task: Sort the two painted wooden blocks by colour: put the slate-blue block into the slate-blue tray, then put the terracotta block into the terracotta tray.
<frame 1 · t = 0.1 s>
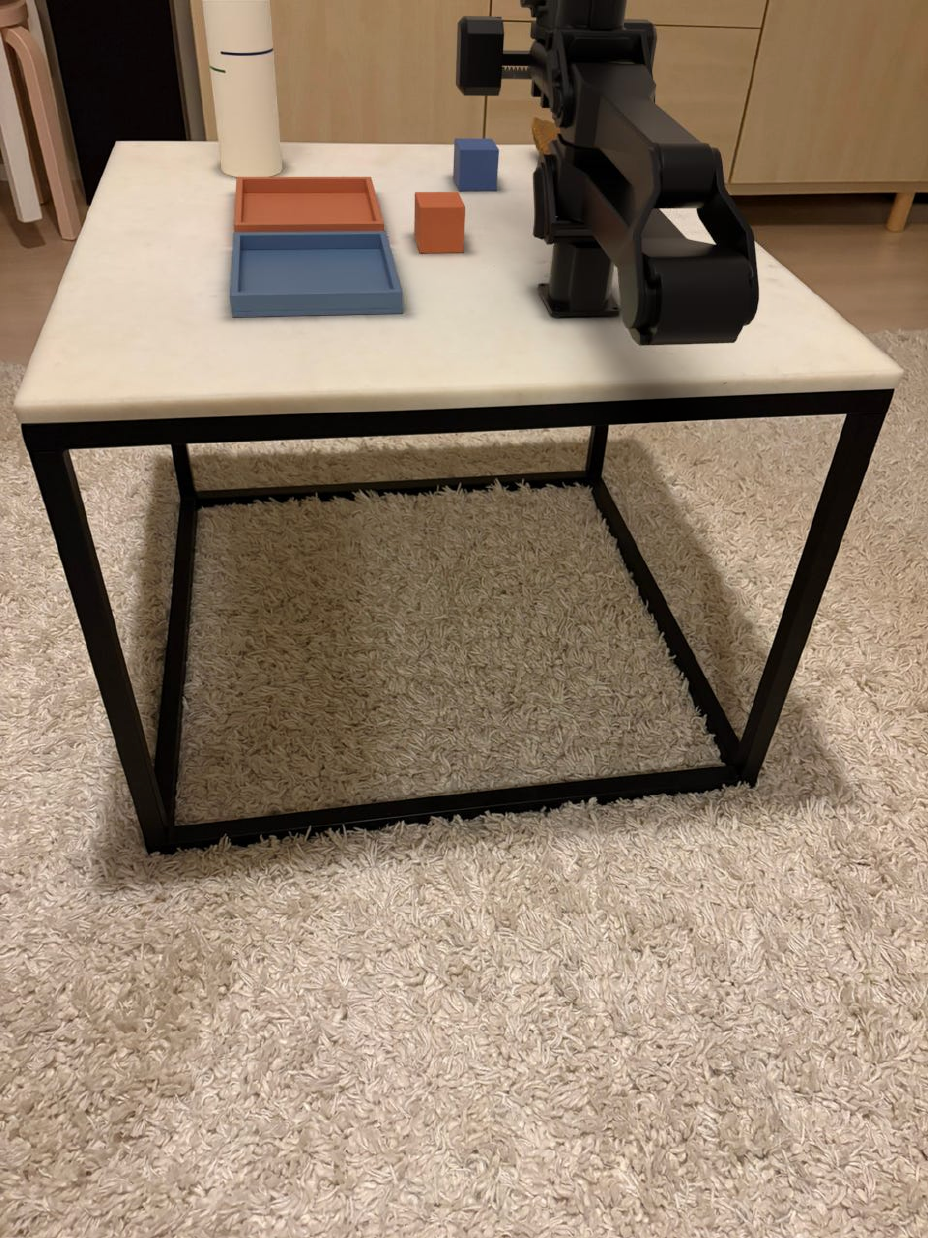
hand: (536, 39, 95), 17 cm above the table, tool horizontal, fingers open, 9 cm apart
blue block: (474, 184, 112), on the table
blue tray: (314, 281, 88), on the table
clay tray: (308, 218, 101), on the table
artifact: (575, 170, 118), on the table
cylindrical container: (252, 170, 112), on the table
clay block: (438, 244, 97), on the table
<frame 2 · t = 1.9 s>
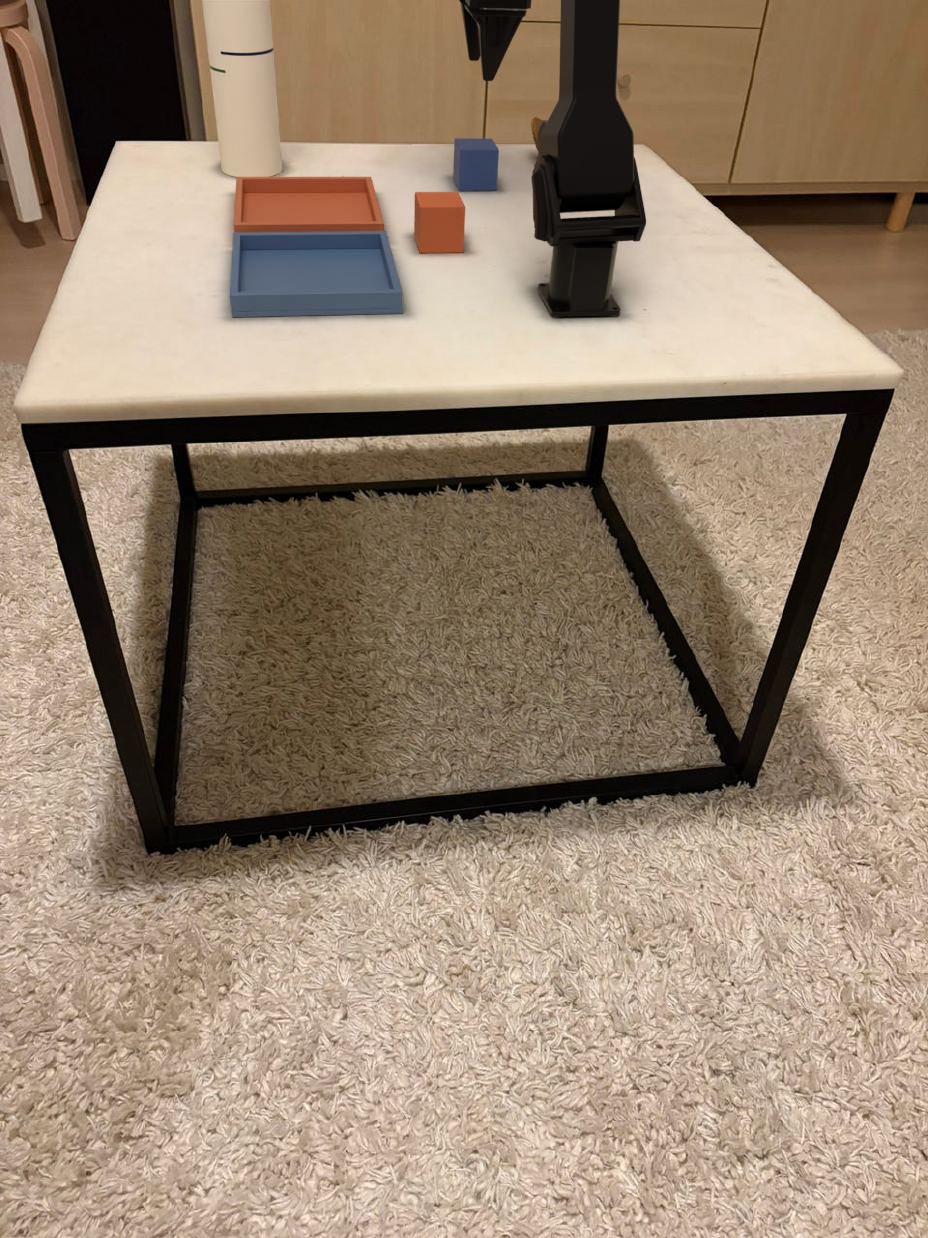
hand: (480, 70, 104), 12 cm above the table, tool pointing down, fingers open, 9 cm apart
nothing on the table moved.
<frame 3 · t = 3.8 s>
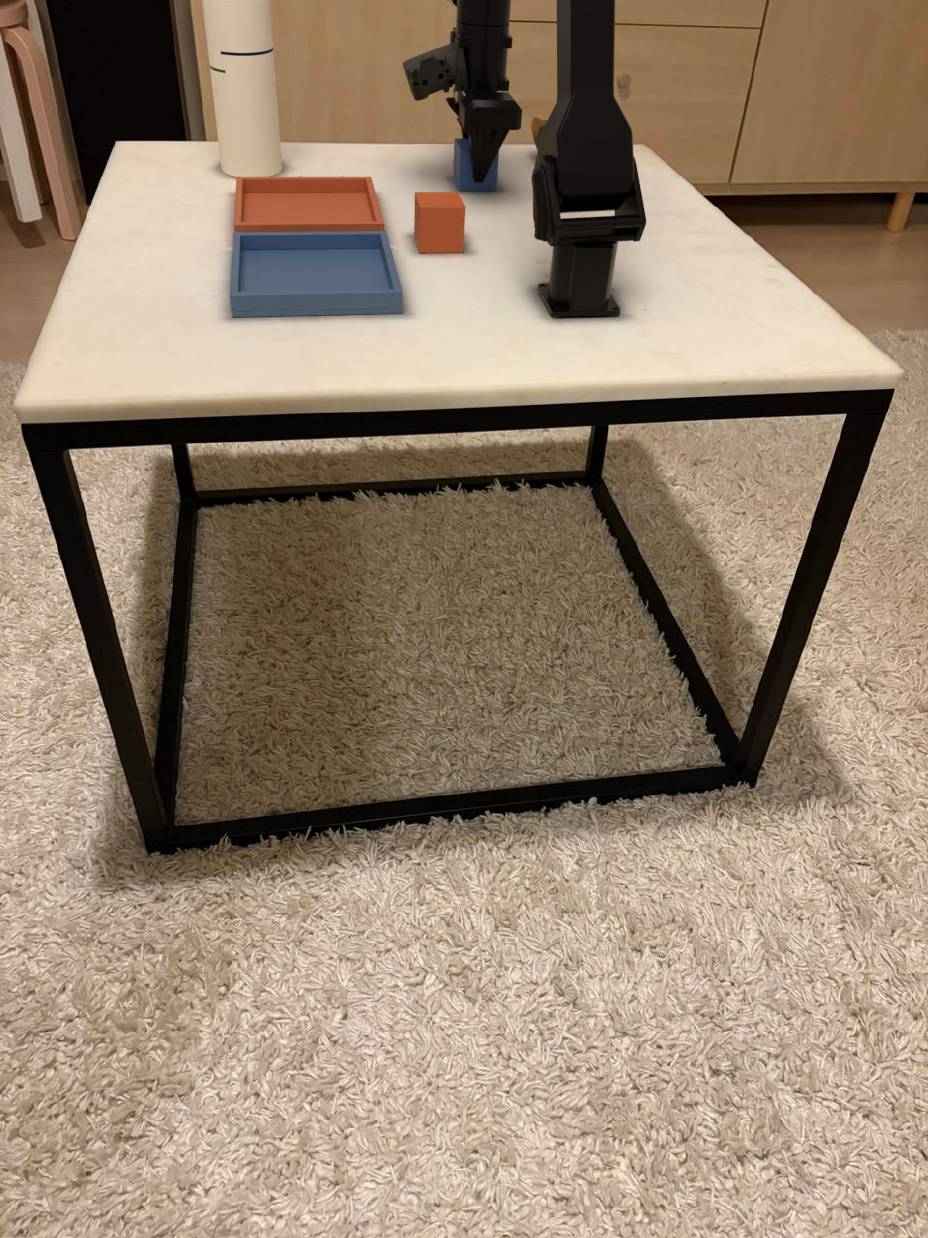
hand: (474, 175, 111), 1 cm above the table, tool pointing down, fingers closed on blue block, 4 cm apart
blue block: (474, 184, 112), on the table, touching gripper
everything else where it was.
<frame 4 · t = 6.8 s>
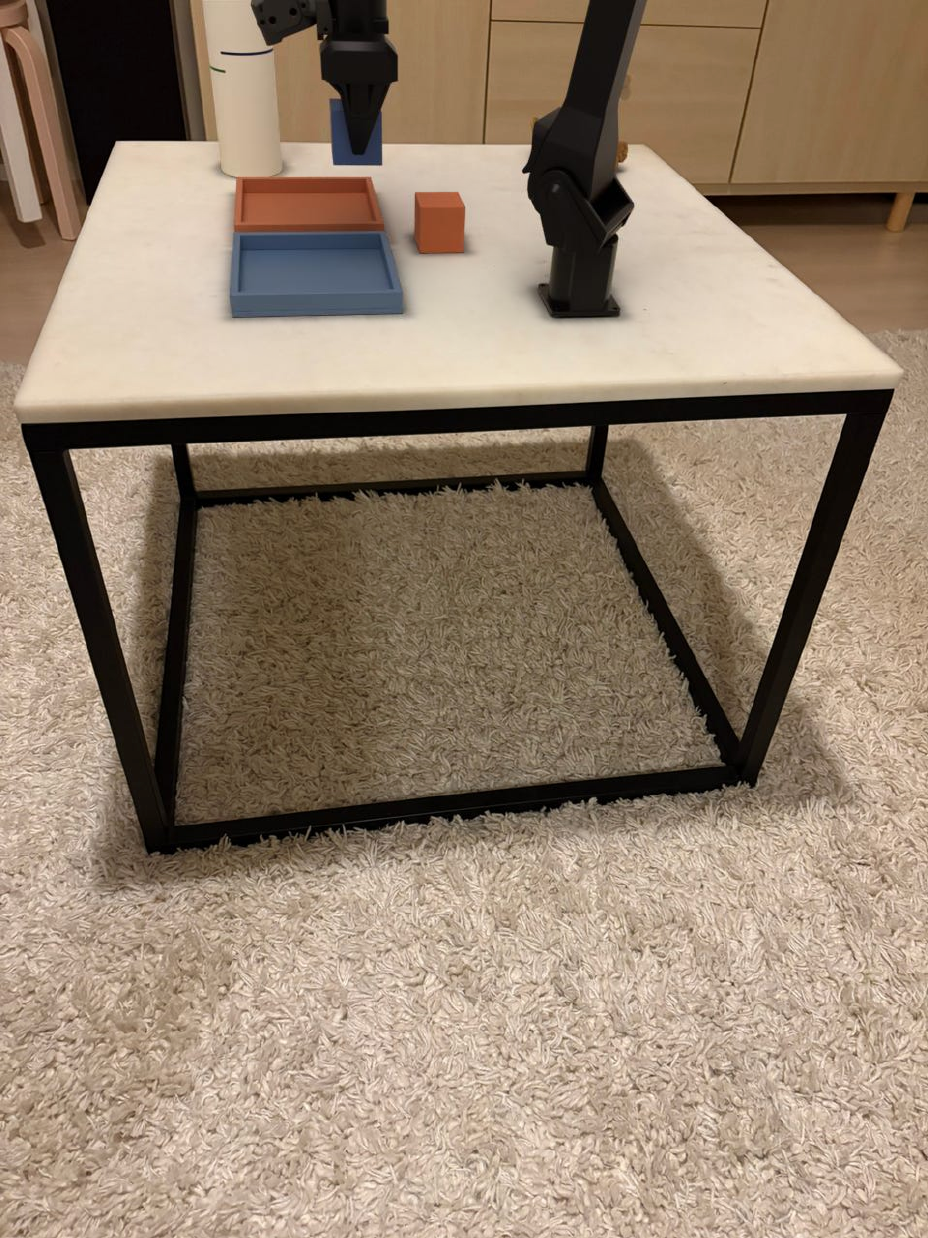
hand: (356, 146, 87), 10 cm above the table, tool pointing down, fingers closed on blue block, 4 cm apart
blue block: (356, 158, 88), point 9 cm above the table, touching gripper
everything else where it was.
when the fingers open (1 cm above the table, at t = 9.9 s): blue block stays where it is, resting on blue tray.
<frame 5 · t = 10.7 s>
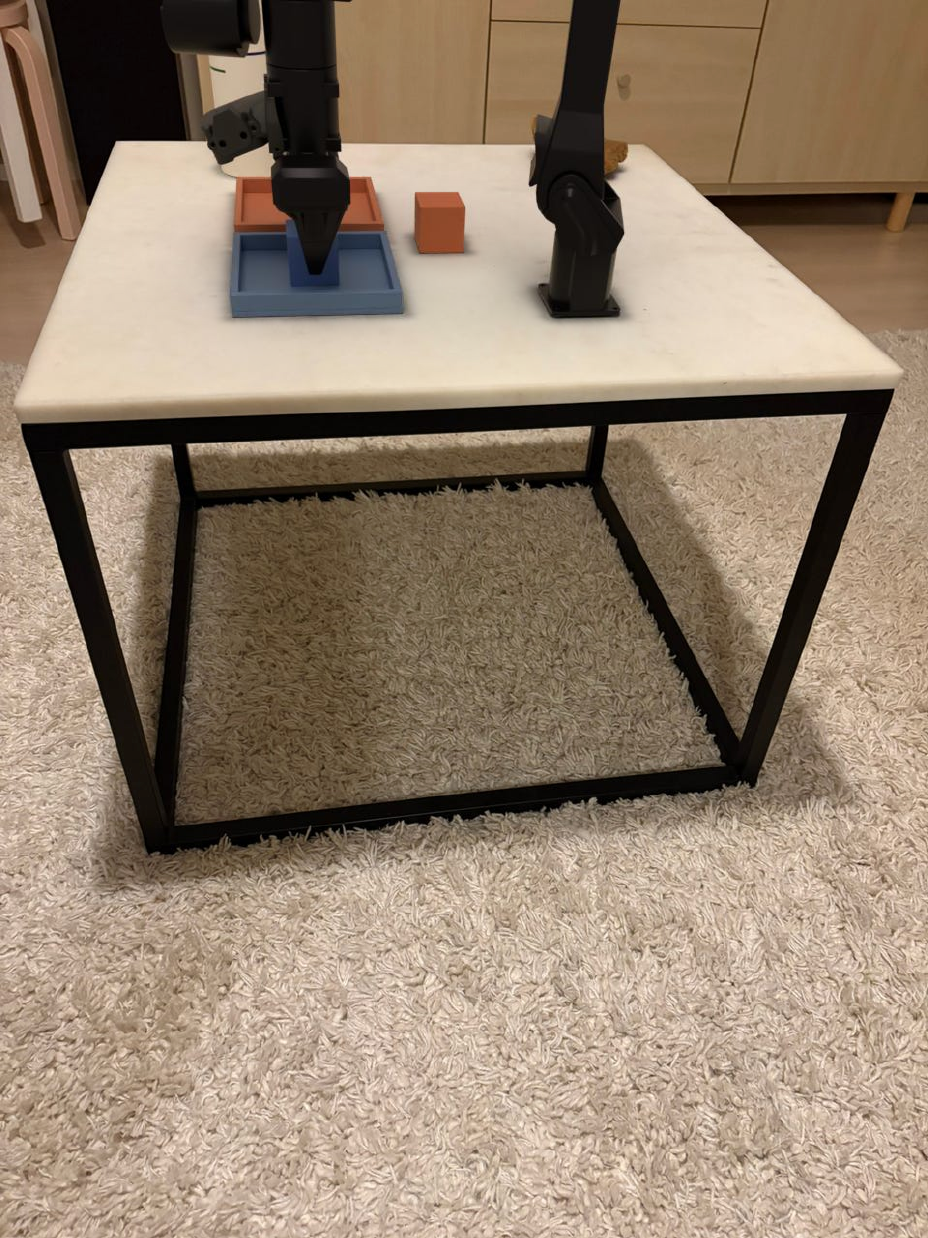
hand: (312, 254, 87), 3 cm above the table, tool pointing down, fingers open, 9 cm apart
blue block: (314, 276, 88), resting on blue tray
everything else where it was.
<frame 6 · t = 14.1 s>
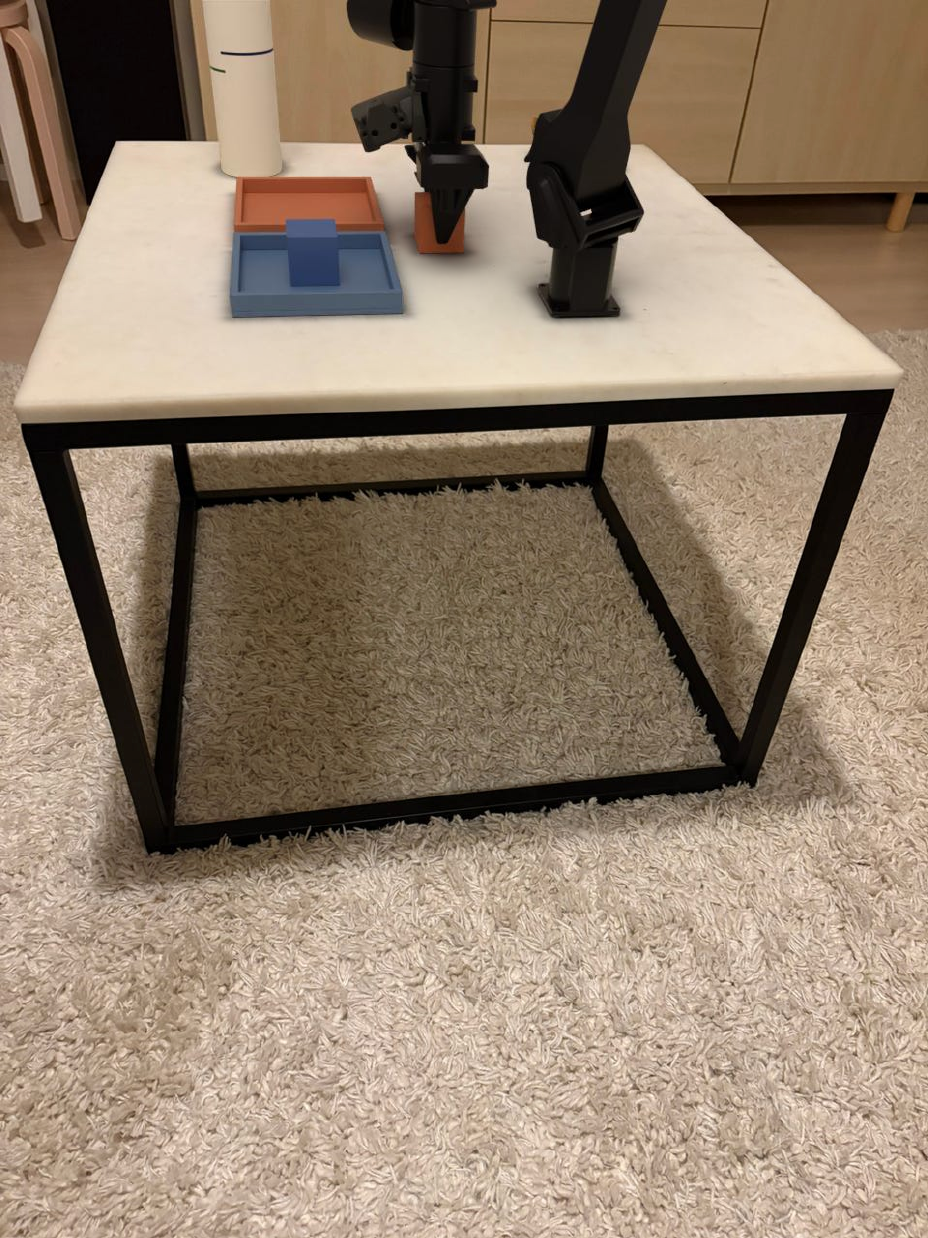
hand: (438, 234, 96), 1 cm above the table, tool pointing down, fingers closed on clay block, 4 cm apart
clay block: (438, 244, 97), on the table, touching gripper
everything else where it was.
when the fingers open (1 cm above the table, at t = 18.9 s): clay block stays where it is, resting on clay tray.
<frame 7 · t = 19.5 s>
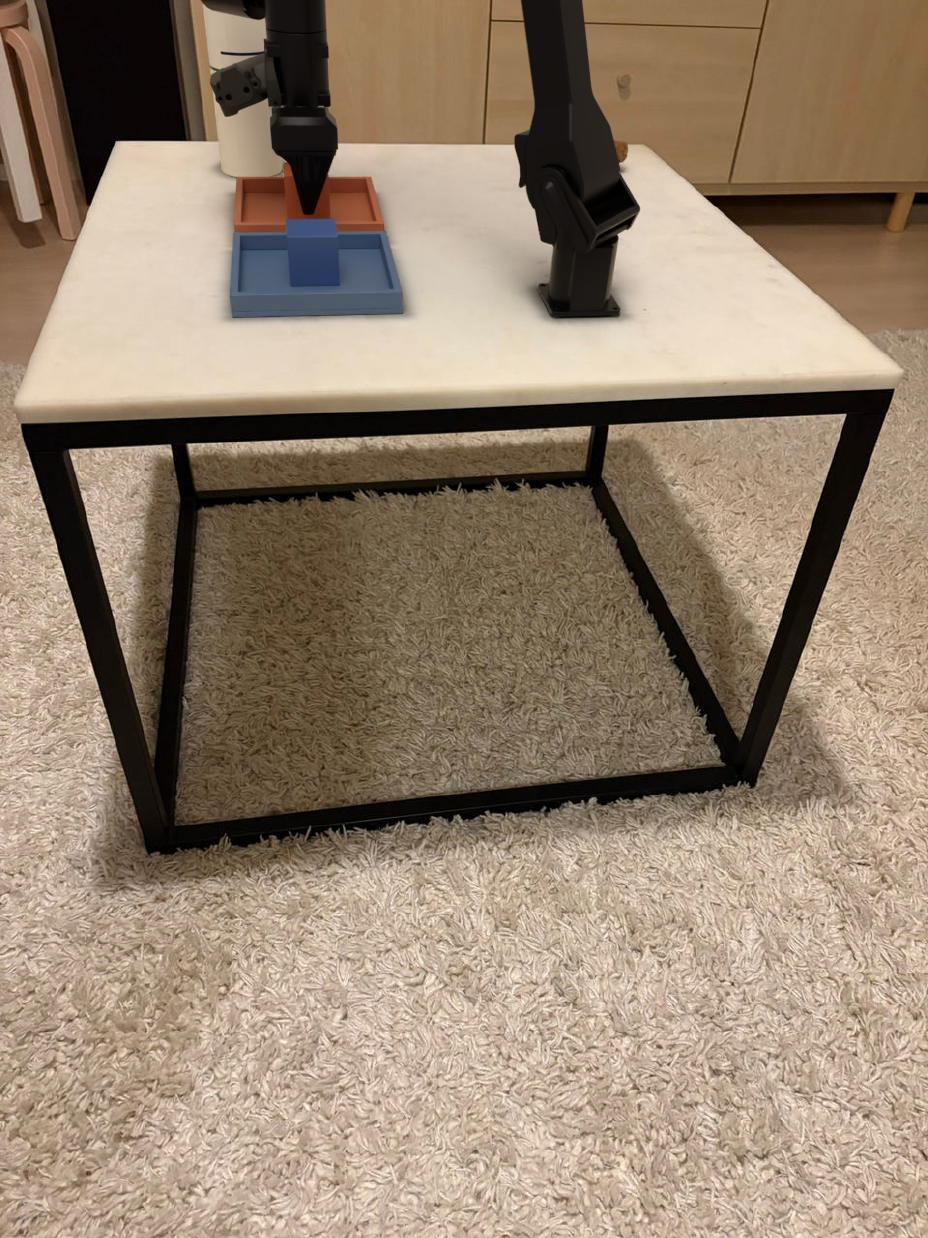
hand: (306, 199, 99), 2 cm above the table, tool pointing down, fingers open, 9 cm apart
clay block: (308, 213, 100), resting on clay tray
everything else where it was.
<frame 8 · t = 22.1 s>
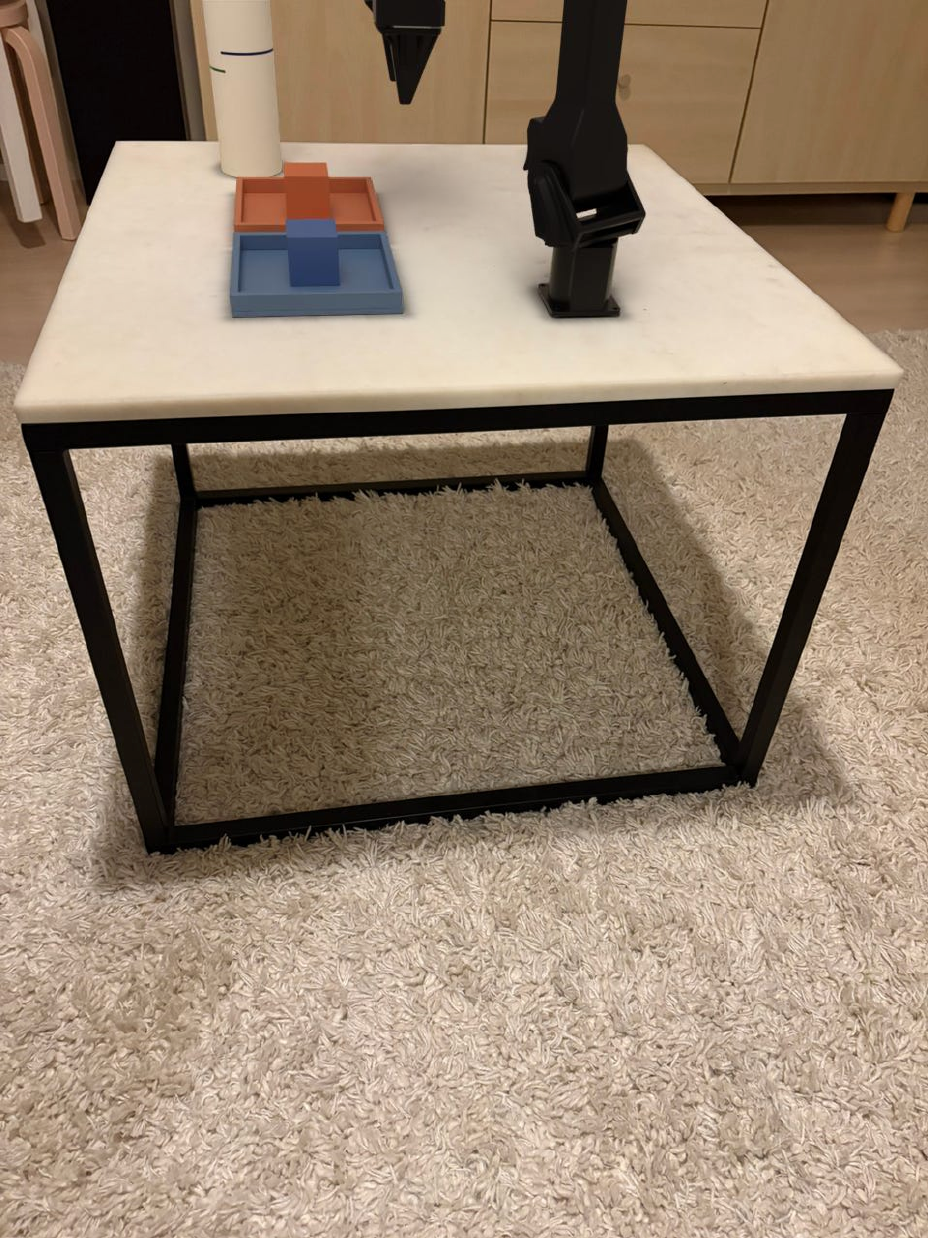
hand: (399, 92, 95), 12 cm above the table, tool pointing down, fingers open, 9 cm apart
nothing on the table moved.
at the end: blue block inside the target area in the blue tray (0.0 cm from its centre), point 0.5 cm above the blue tray's base; clay block inside the target area in the clay tray (0.1 cm from its centre), point 0.5 cm above the clay tray's base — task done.
